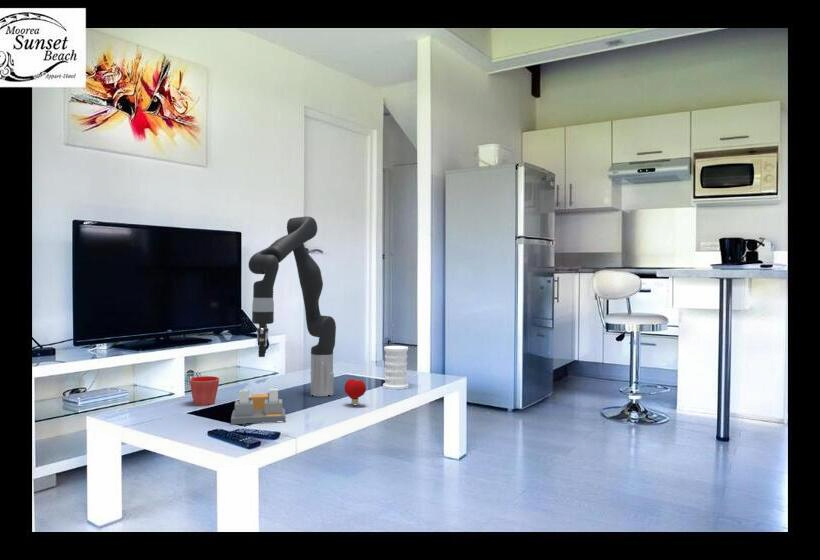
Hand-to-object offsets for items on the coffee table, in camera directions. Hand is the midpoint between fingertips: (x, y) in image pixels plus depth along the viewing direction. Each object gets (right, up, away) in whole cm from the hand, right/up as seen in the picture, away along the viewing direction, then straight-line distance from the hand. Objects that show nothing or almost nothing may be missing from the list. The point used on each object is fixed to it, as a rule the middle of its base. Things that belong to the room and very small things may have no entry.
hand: (262, 355), depth 212 cm
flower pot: (-27, -21, +18) cm, 39 cm away
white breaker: (+5, -17, -4) cm, 18 cm away
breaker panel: (0, -22, -5) cm, 22 cm away
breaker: (-5, -17, -6) cm, 19 cm away
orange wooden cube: (-3, -22, +8) cm, 23 cm away
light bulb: (+32, -22, +17) cm, 42 cm away
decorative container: (+47, -21, +54) cm, 74 cm away
